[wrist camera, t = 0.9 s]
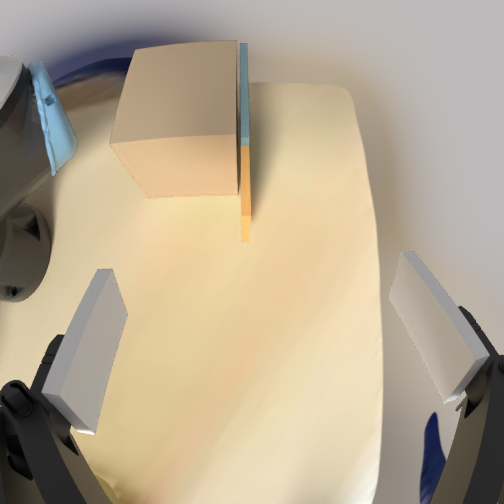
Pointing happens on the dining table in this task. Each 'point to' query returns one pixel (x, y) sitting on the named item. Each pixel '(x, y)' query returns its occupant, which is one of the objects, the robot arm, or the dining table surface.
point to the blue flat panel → (244, 145)
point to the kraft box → (180, 120)
